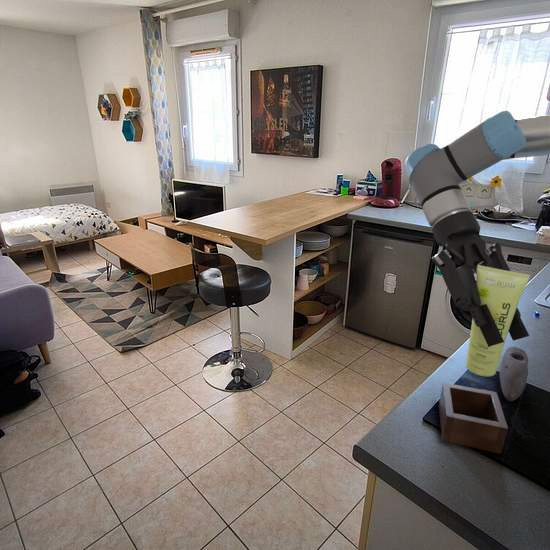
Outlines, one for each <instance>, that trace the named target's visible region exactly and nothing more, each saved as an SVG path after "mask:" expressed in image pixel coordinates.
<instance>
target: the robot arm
mask: <svg viewBox="0 0 550 550" xmlns="http://www.w3.org/2000/svg"><path fill="white" fill-rule="evenodd" d="M543 156H550V113H549V114H543V115H535V116H529V117H522V118H516V119H515V117H514V116H513V115H512V113H511V112H510V111H509V110H505V109H504V110H501V111H498V113H496V114H494V115H492V116H489V117H488V118H486V119H485V120H484V121H482V122H481V123H479V124H478V125H476V126H474V127H473V128H472V129H470V130H468V131H467V132H465V133H464V134H463V135H461V136H459V137H458V138H456V139H455V140H454V141H452V142H451V143H449V144H447V145H445V146H443V147H440V145H438V144H437V143H426V144H424V146H419V147H417V148H416V149H414V150H413V151H411V153H410V154H408V155H407V157H406V159H405V162H404V170H405V173H406V175H407V177H408V182H409V185H410V186H411V188H412V190H413V192H414V193H415V196H416V198H417V200H418V202H419V204H420V206H421V209H422V211H423V214H424V216H425V218H426V221H427V222H428V225H429V226H430V228H432V229H431V232H432V234H433V236H434V238H435V240H436V243H437V245H438V246H439V247H441V250H440V251H439V252H438V253H437V254H435V255H434V256H432V257H431V261H432V262H433V264H434V265H435V266H436V267H437V268H438V270H439V272H440V274H441V276H442V279H443V281H444V283H445V286H446V288H447V291H448V293H449V295H450V297H451V300H452V301H453V303H454V305H455V307H456V308H457V309H460V308H461V309H462V310H463V311H465V312H469V313H470V315H471V318H472V319H473V320H474V322H475V324H476V326H477V327H480V329H481V332H482V334H483V336H484V338H485V340H486V343H487V345H488V347H489V346H493V345H496V344H500V343H503V342H504V340H503V338H502V336H501V334H500V332H499V330H498V327H497V325H496V323H495V321H494V319H493V317H492V315H491V313H490V310H489V308H488V306H487V304H484V305H481V306H480V304H481V300H480V296H479V292H478V288H477V284H476V281H477V279H476V277H475V273H474V272H477V265H480V266H485V267H490V268H495V269H500V270H506V271H511V269H510V267H509V265H508V263H507V261H506V259H505V257H504V254H503V251H502V246H501V244H500V243H499V242H495V243H493V244H490V243H486V241H485V240H484V239H483V238H482V236H481V234H480V232H481V224H480V223H479V222H478V221H479V220H478V219H477V217H476V215H475V213H474V212H473V211H472V207H471V205H470V203H469V201H468V199H467V197H466V195H465V193H464V190H463V189H462V188H461V186H460V185H461V184H462V183H464V182H466V181H467V180H469V179H470V178H472V177H474V176H476V175H478V174H480V173H481V172H483V171H485V170H487V169H489V168H491V167H492V166H494V165H496V164H498V163H500V162H502V161H504V160H512V159H522V158H532V157H543ZM521 317H522V315H521V311H520V310H519V308H518V307H517V308H516V311H515V314H514V316H513V319H512V322H511V325H510V328H509V331H508V334H509V336H510V338H511V340H512V341H513V342H514V341H518V340H520V339H521V340H522V339H524V338H527V337H530V334H529V332H528V330H527V328H526V325H525V324H524V322H523V320H522V318H521Z"/></svg>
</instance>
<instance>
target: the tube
mask: <svg viewBox="0 0 550 550" xmlns="http://www.w3.org/2000/svg"><path fill="white" fill-rule="evenodd" d="M530 278H531V275H530V274H529V273H528V274H526V273H523V272H522V273H521V272H516V271H512V270H510V271H506V270H500V269H495V268H490V267H485V266H480V265H477V271H476V284H477V288H478V292H479V296H480V300H481V304H480V306H481V305H484V304H487V306H488V308H489V310H490V313H491V315H492V317H493V319H494V321H495V323H496V325H497V327H498V330H499V332H500V334H501V336H502V338H503V340H504V342H503V343H500V344H496V345H493V346H489V347H488V345H487V343H486V340H485V338H484V336H483V334H482V332H481V329H480V327H477V326H476V324H475V322H474V320H473V318H472V320H471V327H470V334H469V341H468V347H467V353H466V360H465V367H466V369H467V370H468V371H469V372H470V373H472V374H475V375H477V376H480V377H493V376H494V375H496V374H497V370H498V367H499V365H500V362H501V361H500V360H501V358H502V355H503V354H502V353H503V350H504V347H505V344H506V340H507V337H508V334H509V328H510V325H511V322H512V319H513V316H514V314H515V311H516V308H518V307H519V303H520V300H521V298H522V295H523V293H524V291H525V289H526V287H527V284H528V282H529V281H530Z"/></svg>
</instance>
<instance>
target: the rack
mask: <svg viewBox="0 0 550 550" xmlns="http://www.w3.org/2000/svg"><path fill="white" fill-rule="evenodd" d="M499 398H500V397H499V395H498V393H497V391H492V390H486V389H481V388H475V387H470V386H465V385H458V384H453V383H447V382H442V386H441V391H440V396H439V402H438V410H439V422H440V434H441V441H443V442H447V443H451V444H455V445H459V446H465V447H469V448H473V449H478V450H483V451H486V452H491V453H495V454H500V455H501V454H502V451H503V448H504V444H505V441H506V437H507V434H508V431H509V427H508V423H507V421H506V418H505V414H504V411H503V408H502V405H501V402H500V399H499Z"/></svg>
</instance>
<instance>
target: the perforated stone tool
mask: <svg viewBox="0 0 550 550" xmlns="http://www.w3.org/2000/svg"><path fill="white" fill-rule="evenodd" d="M528 364H529V357H528V355H527V353H526V351H525V350H524V349H522V348H520V347H517V346H509V347H508V348H506V349H505V351H504V353H503V354H502V356H501V361H500V364H499V382H500V387H501V392H502V394H503V397H504V398H505V399H506V400H507V401H508V402H514V401H515V400H517V399H518V398H519V397H520V396H521V395H522V393H523V392H524V390H525V387H526V384H527V380H528V375H529V367H528Z"/></svg>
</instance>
